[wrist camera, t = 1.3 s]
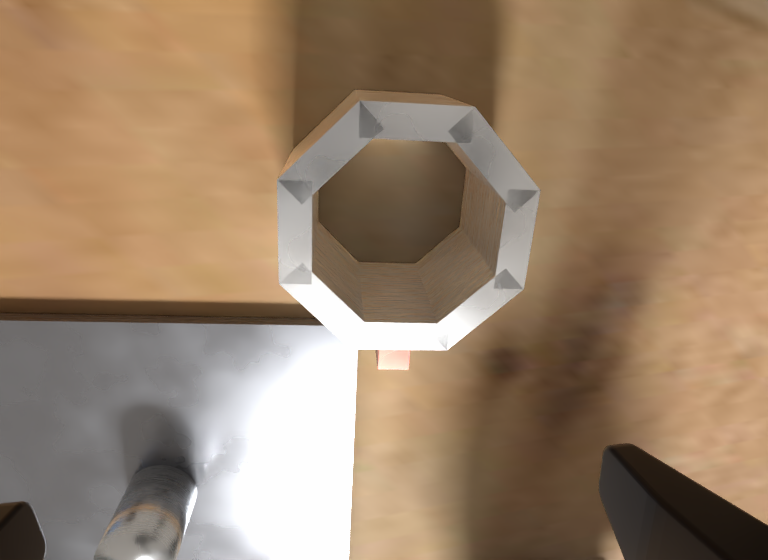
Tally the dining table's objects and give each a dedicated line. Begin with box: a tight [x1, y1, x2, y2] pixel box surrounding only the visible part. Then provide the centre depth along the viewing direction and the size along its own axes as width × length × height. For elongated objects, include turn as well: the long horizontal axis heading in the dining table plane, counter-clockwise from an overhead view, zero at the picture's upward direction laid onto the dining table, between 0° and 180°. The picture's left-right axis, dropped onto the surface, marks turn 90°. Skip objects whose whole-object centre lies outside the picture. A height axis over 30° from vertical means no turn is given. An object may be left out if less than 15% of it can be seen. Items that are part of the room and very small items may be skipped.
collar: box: [277, 90, 541, 370], centre depth 17 cm, size 7×8×5 cm
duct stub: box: [0, 313, 358, 560], centre depth 22 cm, size 16×16×4 cm
